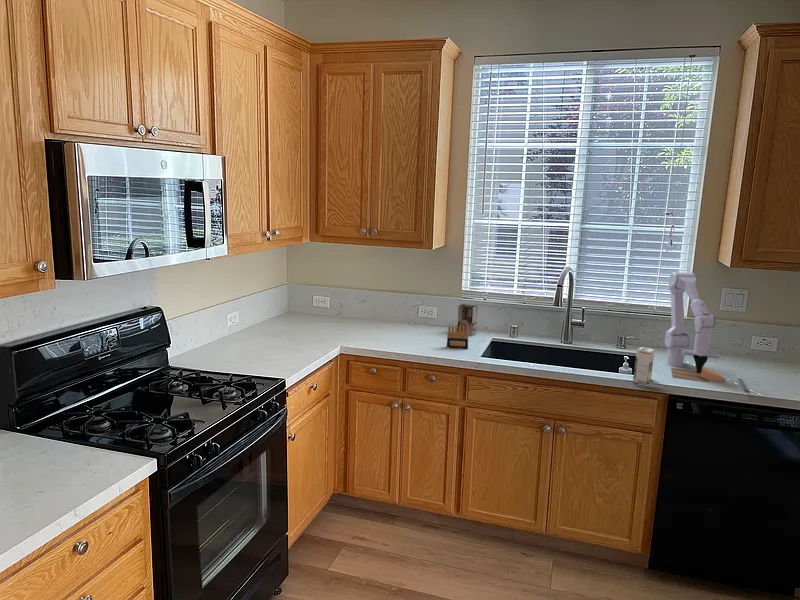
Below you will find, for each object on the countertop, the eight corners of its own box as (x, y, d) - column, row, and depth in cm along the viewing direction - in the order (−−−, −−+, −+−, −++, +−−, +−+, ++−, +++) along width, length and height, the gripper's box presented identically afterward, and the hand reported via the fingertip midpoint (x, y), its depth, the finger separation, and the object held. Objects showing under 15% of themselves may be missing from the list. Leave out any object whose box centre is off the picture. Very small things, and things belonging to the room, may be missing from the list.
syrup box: (636, 379, 250) (640, 346, 247) (651, 382, 246) (655, 349, 243) (632, 382, 245) (636, 348, 243) (647, 385, 242) (650, 351, 239)
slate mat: (706, 375, 259) (706, 374, 259) (741, 379, 254) (742, 378, 253) (710, 386, 242) (710, 385, 242) (748, 392, 237) (748, 391, 237)
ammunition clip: (446, 347, 291) (447, 324, 289) (446, 346, 293) (447, 323, 291) (467, 349, 290) (469, 325, 287) (467, 348, 291) (469, 324, 289)
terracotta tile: (698, 372, 254) (701, 366, 254) (718, 379, 252) (721, 373, 251) (700, 376, 248) (702, 370, 247) (720, 383, 245) (722, 377, 245)
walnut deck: (670, 371, 263) (670, 367, 263) (705, 375, 258) (705, 372, 258) (672, 380, 249) (672, 377, 248) (708, 385, 243) (709, 382, 243)
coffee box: (476, 334, 321) (478, 305, 318) (471, 336, 316) (473, 307, 313) (461, 331, 326) (463, 303, 323) (456, 333, 321) (458, 305, 318)
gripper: (684, 342, 248) (680, 372, 250) (722, 346, 243) (718, 377, 245) (683, 338, 254) (679, 368, 257) (720, 342, 249) (716, 373, 252)
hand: (698, 372), depth 251 cm, fingers closed
